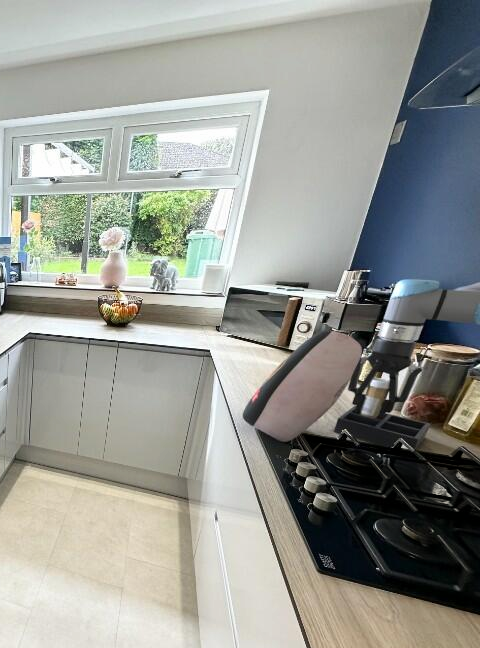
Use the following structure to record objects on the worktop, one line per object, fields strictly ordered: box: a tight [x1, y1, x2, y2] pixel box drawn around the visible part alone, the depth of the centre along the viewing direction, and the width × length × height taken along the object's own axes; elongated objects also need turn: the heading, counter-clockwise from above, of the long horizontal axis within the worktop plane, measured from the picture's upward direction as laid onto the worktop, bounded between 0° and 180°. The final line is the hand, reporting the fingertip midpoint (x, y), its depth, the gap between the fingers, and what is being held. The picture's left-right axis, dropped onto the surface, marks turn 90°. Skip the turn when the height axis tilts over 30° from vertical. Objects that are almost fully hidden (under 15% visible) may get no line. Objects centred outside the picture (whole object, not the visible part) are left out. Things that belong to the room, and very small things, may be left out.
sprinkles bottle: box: [359, 377, 390, 419], centre depth 112 cm, size 5×5×14 cm
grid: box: [333, 405, 431, 450], centre depth 109 cm, size 15×15×5 cm
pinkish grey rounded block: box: [242, 330, 363, 443], centre depth 106 cm, size 22×20×30 cm
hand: (367, 418), depth 114 cm, fingers closed on sprinkles bottle, 4 cm apart
